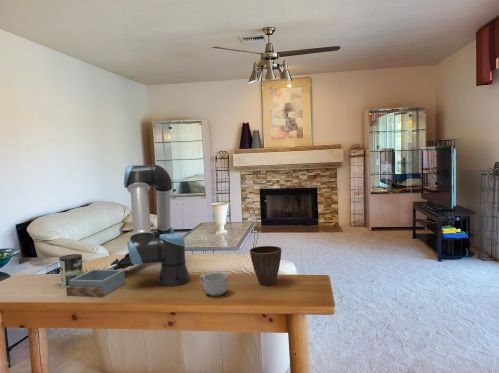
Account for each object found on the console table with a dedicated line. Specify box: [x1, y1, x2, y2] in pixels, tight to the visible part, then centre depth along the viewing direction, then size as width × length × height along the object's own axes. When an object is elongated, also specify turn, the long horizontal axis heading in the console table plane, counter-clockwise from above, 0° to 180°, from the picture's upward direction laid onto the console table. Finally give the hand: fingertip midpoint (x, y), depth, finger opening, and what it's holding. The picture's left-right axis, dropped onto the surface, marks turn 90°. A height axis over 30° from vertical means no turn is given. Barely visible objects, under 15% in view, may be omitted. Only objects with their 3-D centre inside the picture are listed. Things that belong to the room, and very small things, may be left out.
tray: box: [69, 269, 126, 296], centre depth 175 cm, size 17×17×6 cm
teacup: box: [199, 271, 229, 297], centre depth 163 cm, size 14×11×8 cm
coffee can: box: [58, 253, 84, 288], centre depth 185 cm, size 10×10×14 cm
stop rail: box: [65, 286, 105, 298], centre depth 166 cm, size 18×2×4 cm, turn 77°
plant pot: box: [249, 245, 282, 286], centre depth 174 cm, size 15×15×16 cm
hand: (108, 270), depth 184 cm, fingers closed
